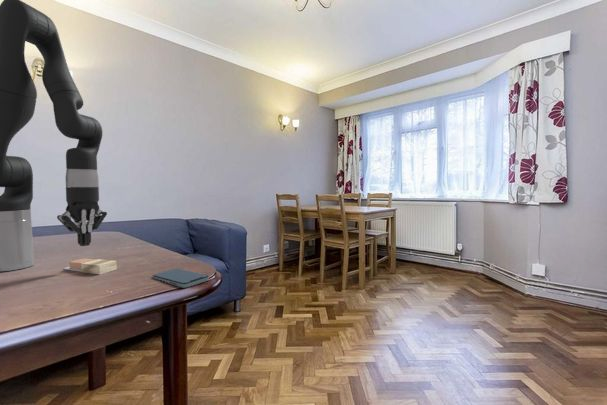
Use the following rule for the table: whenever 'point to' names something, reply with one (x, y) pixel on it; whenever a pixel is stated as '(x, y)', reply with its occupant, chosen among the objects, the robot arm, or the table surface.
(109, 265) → the deck
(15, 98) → the robot arm
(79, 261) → the tile
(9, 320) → the table surface
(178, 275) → the smartphone
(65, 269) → the mat
